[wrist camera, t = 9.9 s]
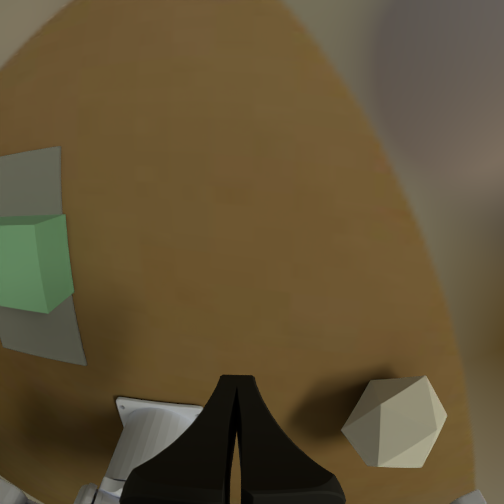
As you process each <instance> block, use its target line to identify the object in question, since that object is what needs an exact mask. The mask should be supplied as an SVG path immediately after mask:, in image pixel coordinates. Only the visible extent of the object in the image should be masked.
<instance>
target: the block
mask: <svg viewBox="0 0 504 504" xmlns="http://www.w3.org/2000/svg"><path fill="white" fill-rule="evenodd" d="M72 293H74V287H73V280H72V273H71V266H70V258H69V249H68V240H67V228H66V215H65V214H59V215H31V216H10V217H0V306H4V307H9V308H15V309H21V310H27V311H34V312H40V313H47V314H49V313H50V312H51V311H52V310H53V309H54V308H56V307H57V306H58V305H59V304H60V303H62V302H63V301H64V300H65V299H66V298H68V297H69V296H70V295H71V294H72Z"/></svg>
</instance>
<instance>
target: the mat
mask: <svg viewBox="0 0 504 504" xmlns="http://www.w3.org/2000/svg"><path fill="white" fill-rule="evenodd" d="M59 214H62V198H61V146H58V147H51V148H45V149H39V150H33V151H27V152H22V153H17V154H11V155H6V156H2V157H0V217H10V216H31V215H59ZM0 339H1V342H2V345H3V347H4V348H8V349H12V350H15V351H19V352H23V353H27V354H31V355H36V356H40V357H44V358H49V359H54V360H58V361H63V362H68V363H73V364H79V365H84V366H87V362H86V358H85V354H84V350H83V346H82V342H81V338H80V333H79V329H78V324H77V319H76V314H75V309H74V304H73V298H72V294H71V295H70V296H69V297H68V298H66V299H65V300H64V301H63V302H62V303H60V304H59V305H58V306H57V307H56V308H54V309H53V310H52V311H51V312H50V313H49V314H47V313H40V312H34V311H27V310H21V309H15V308H9V307H4V306H0Z"/></svg>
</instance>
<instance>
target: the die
mask: <svg viewBox="0 0 504 504" xmlns="http://www.w3.org/2000/svg"><path fill="white" fill-rule="evenodd" d="M446 417H447V414H446V412H445V410H444V408H443V406H442V404H441V402H440V401H439V399H438V397H437V395H436V393H435V391H434V389H433V388H432V386H431V384H430V382H429V380H428V379H427V377H426V376H417V377H406V378H395V379H381V380H370V382H369V384H368V385H367V387H366V389H365V391H364V393H363V394H362V396H361V398H360V400H359V401H358V403H357V405H356V406H355V408H354V410H353V411H352V413H351V415H350V416H349V418H348V419H347V421H346V423H345V424H344V426H343V427H342V429H341V431H342V432H343V434H344V435H345V436H346V438H347V439H348V441H349V442H350V443H351V445H352V446H353V447H354V449H355V450H356V451H357V453H358V454H359V455H360V457H361V458H362V459H363V461H364V462H365V463H366V465H367V466H376V467H403V468H421V467H422V465H423V464H424V462H425V460H426V458H427V456H428V454H429V453H430V451H431V449H432V447H433V445H434V443H435V441H436V439H437V437H438V435H439V433H440V431H441V428H442V426H443V424H444V422H445V420H446Z"/></svg>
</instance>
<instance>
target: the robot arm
mask: <svg viewBox="0 0 504 504" xmlns="http://www.w3.org/2000/svg"><path fill="white" fill-rule="evenodd" d="M116 404H117V407H118V411H119V414H120V417H121V420H122V423H123V427H124V429H123V431H122V434H121V436H120V439H119V441H118V444H117V446H116V449H115V451H114V454H113V456H112V459H111V461H110V464H109V466H108V469H107V472H106V474H105V477H103V480H102V482H101V485H100V487H99V490H98V489H96V488H97V485H95V484H93V483H89V485H83V486H82V487H81V489H80V491H79V493H78V495H77V497H76V499H75V502H74V504H230V477H231V467H232V460H233V453H234V446H235V439H236V432H237V437H238V448H239V458H240V468H241V504H345V502H346V499H345V495H344V492H343V490H342V488H341V486H340V483H339V482H338V480H337V478H336V476H335V475H334V474H332V473H331V472H329V471H327V470H326V469H324V468H323V467H321V466H320V465H318V464H317V463H316V462H315V461H313V460H312V459H311V458H309V457H308V456H307V455H306V454H305V453H304V452H303V451H302V450H301V449H299V448H298V447H297V446H296V445H295V444H294V443H293V442H292V441H291V440H290V438H289V437H288V436H287V435H286V434H285V433H284V431H283V430H282V429H281V428H280V426H279V425H278V424H277V422H276V421H275V419H274V418H273V416H272V415H271V413H270V411H269V410H268V408H267V406H266V404H265V403H264V401H263V399H262V397H261V395H260V392H259V390H258V387H257V385H256V381H255V377H253V376H252V375H222V376H220V379H219V382H218V384H217V386H216V388H215V390H214V392H213V394H212V396H211V397H210V399H209V400H208V402H207V404H206V405H205V407H204V408H202V407H201V406H196V405H183V404H172V403H163V402H154V401H146V400H138V399H131V398H125V397H118V398H117V400H116ZM197 414H199V415H197ZM0 504H38V503H36V502H34V501H32V500H29V499H27V497H26V495H25V494H24V493H23V492H22V491H21V490H20V489H19V488H18V487H16V486H14V485H13V484H11V483H9V482H7V481H5V480H3V479H1V478H0ZM450 504H487V503H486V501H485V499H484V497H483V496H482V494H481V492H480V490H479V489H477V490H475V491H472V492H470V493H468V494H466V495H464V496H461V497H459V498H457V499H456V500H454V501H453V502H451V503H450Z"/></svg>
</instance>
